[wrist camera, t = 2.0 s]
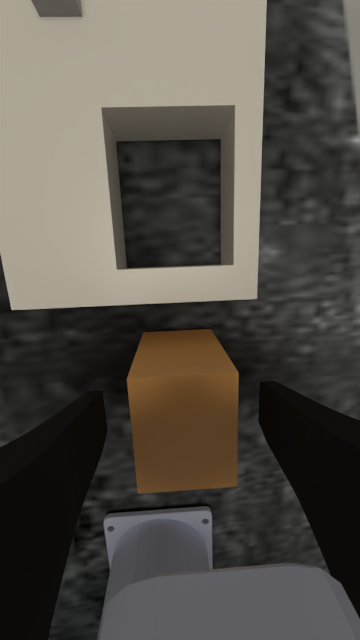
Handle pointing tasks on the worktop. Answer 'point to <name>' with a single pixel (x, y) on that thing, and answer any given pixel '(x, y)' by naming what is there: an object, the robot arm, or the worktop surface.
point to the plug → (183, 412)
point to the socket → (122, 125)
